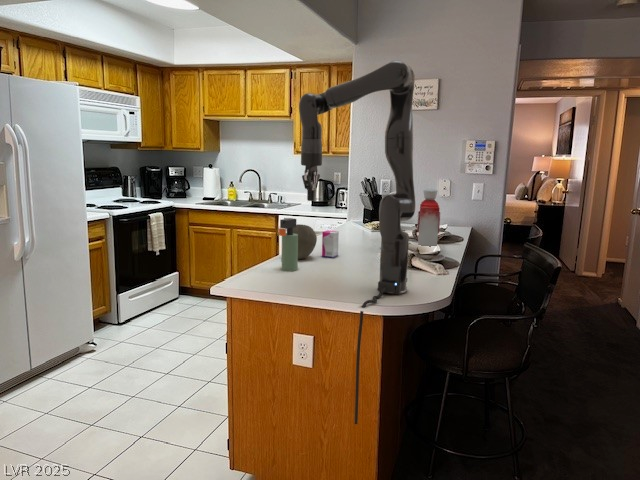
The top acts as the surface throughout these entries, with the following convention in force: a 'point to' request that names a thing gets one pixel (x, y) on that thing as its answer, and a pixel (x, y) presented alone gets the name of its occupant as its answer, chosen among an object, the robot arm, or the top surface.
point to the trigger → (282, 232)
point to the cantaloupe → (305, 240)
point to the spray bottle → (289, 245)
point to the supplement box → (330, 244)
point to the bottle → (428, 219)
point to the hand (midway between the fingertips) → (310, 200)
